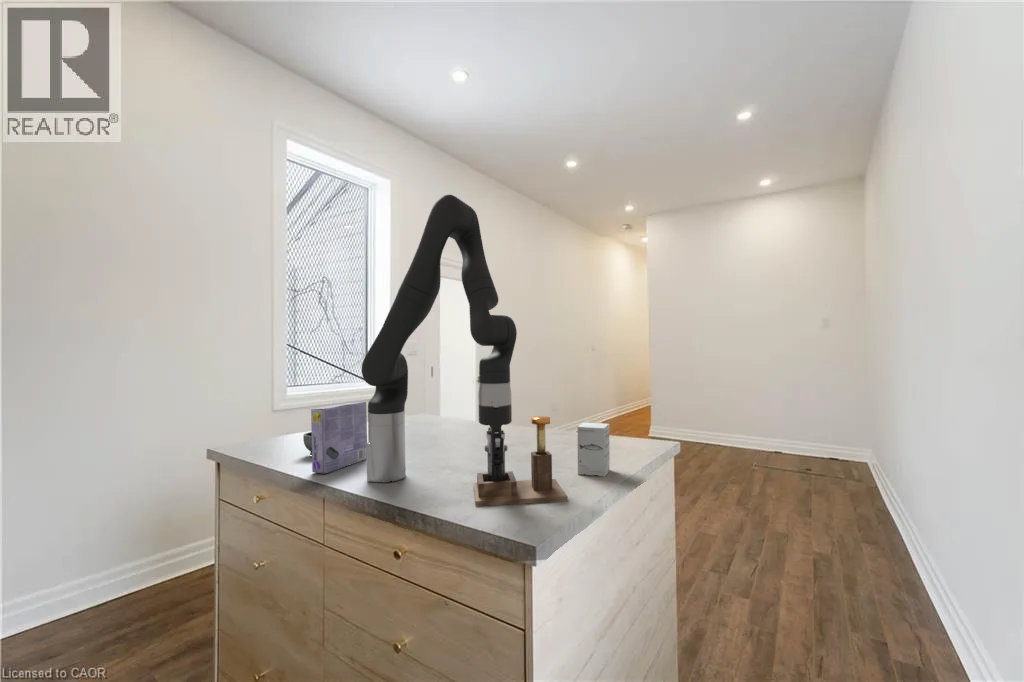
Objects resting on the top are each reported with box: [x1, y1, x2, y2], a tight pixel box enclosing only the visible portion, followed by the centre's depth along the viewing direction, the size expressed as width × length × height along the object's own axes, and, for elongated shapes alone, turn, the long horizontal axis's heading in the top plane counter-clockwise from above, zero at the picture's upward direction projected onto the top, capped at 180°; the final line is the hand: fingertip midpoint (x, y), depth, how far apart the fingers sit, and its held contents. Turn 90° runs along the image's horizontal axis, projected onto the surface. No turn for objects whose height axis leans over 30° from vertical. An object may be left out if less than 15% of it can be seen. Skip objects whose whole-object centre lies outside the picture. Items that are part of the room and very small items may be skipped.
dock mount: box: [473, 450, 569, 507], centre depth 106 cm, size 20×13×9 cm, turn 96°
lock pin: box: [530, 415, 551, 455], centre depth 106 cm, size 4×4×10 cm
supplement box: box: [577, 422, 611, 477], centre depth 122 cm, size 7×7×13 cm
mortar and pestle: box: [303, 431, 312, 456], centre depth 147 cm, size 11×9×12 cm
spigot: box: [484, 444, 509, 482], centre depth 105 cm, size 5×5×10 cm
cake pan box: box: [310, 401, 368, 475], centre depth 133 cm, size 19×5×18 cm, turn 159°
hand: (496, 476), depth 105 cm, fingers open, 4 cm apart
